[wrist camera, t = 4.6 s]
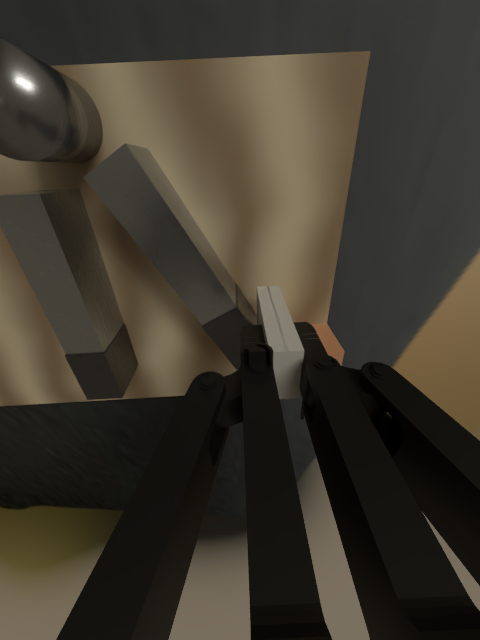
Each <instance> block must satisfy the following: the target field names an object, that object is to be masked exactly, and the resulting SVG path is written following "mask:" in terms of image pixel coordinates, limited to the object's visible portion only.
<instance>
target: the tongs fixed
mask: <svg viewBox="0 0 480 640" xmlns="http://www.w3.org/2000/svg"><path fill="white" fill-rule="evenodd" d="M102 138H103V127H102V121H101V117H100V114H99V112H98V109H97V107H96V105H95V103H94V101H93V100H92V98H91V97H90V95H89V94H88V93H87V92H86V90H85V89H84V88H83V87H82V86H81V85H80V84H78V83H77V82H76V81H74V80H73V79H71V78H70V77H68V76H66V75H65V74H63V73H61V72H59V71H58V70H56V69H54V68H52V67H51V66H49V65H47V64H45V63H44V62H42V61H40V60H39V59H37V58H35V57H33V56H32V55H30V54H28V53H26V52H25V51H23V50H21V49H19V48H18V47H16V46H14V45H12V44H11V43H9V42H7V41H5V40H3V39H2V38H0V154H1V155H3V156H5V157H8V158H11V159H14V160H20V161H38V162H62V163H83V162H86V161H89V160H90V159H92V158H93V157H94V156H95V155H96V154H97V153H98V151H99V149H100V147H101V144H102ZM0 227H1V229H2V231H3V233H4V235H5V236H6V238H7V240H8V242H9V244H10V246H11V248H12V250H13V252H14V254H15V256H16V258H17V260H18V262H19V264H20V266H21V268H22V270H23V272H24V274H25V275H26V277H27V279H28V281H29V283H30V285H31V287H32V289H33V291H34V293H35V295H36V297H37V299H38V301H39V303H40V305H41V307H42V309H43V311H44V313H45V314H46V316H47V318H48V320H49V322H50V324H51V326H52V328H53V330H54V332H55V334H56V336H57V338H58V340H59V342H60V344H61V346H62V348H63V350H64V352H65V353H66V355H65V358H66V360H67V362H68V364H69V366H70V367H71V369H72V371H73V373H74V375H75V377H76V379H77V381H78V383H79V385H80V387H81V389H82V391H83V393H84V394H85V396H86V398H87V400H96V399H114V398H123V396H124V394H125V392H126V390H127V388H128V386H129V383H130V381H131V379H132V377H133V375H134V373H135V371H136V368H137V366H138V361H137V358H136V355H135V352H134V349H133V346H132V343H131V340H130V337H129V334H128V331H127V328H126V325H125V324H124V321H123V318H122V315H121V312H120V309H119V306H118V303H117V300H116V297H115V294H114V291H113V288H112V285H111V282H110V279H109V276H108V273H107V270H106V267H105V264H104V261H103V258H102V255H101V252H100V249H99V246H98V243H97V240H96V237H95V234H94V231H93V228H92V225H91V222H90V219H89V216H88V212H87V209H86V206H85V203H84V200H83V197H82V194H81V191H80V189H60V190H40V191H29V192H20V193H11V194H2V195H0Z"/></svg>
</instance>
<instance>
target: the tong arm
mask: <svg viewBox="0 0 480 640" xmlns="http://www.w3.org/2000/svg"><path fill="white" fill-rule="evenodd" d="M84 178H85V180H86V181H87V182H88V183H89V185H90V186H91V187H92V188H93V190H94V191H95V192H96V193H97V195H98V196H99V197H100V198H101V200H102V201H103V202H104V203H105V205H106V206H107V207H108V208H109V210H110V211H111V212H112V213H113V215H114V216H115V217H116V218H117V220H118V221H119V222H120V223H121V225H122V226H123V227H124V228H125V229H126V231H127V232H128V233H129V234H130V236H131V237H132V238H133V239H134V241H135V242H136V243H137V244H138V246H139V247H140V248H141V249H142V251H143V252H144V253H145V254H146V256H147V257H148V258H149V259H150V261H151V262H152V263H153V264H154V266H155V267H156V268H157V269H158V271H159V272H160V273H161V274H162V276H163V277H164V278H165V279H166V281H167V282H168V283H169V284H170V286H171V287H172V288H173V289H174V291H175V292H176V293H177V294H178V296H179V297H180V298H181V299H182V300H183V302H184V303H185V304H186V305H187V307H188V308H189V309H190V310H191V312H192V313H193V314H194V315H195V317H196V318H197V319H198V320H199V322H200V323H201V324H202V328H203V329H204V330H205V331H206V333H207V334H208V335H209V336H210V338H211V339H212V340H213V341H214V343H215V344H216V345H217V346H218V348H219V349H220V350H221V351H222V352H223V354H224V355H225V356H226V357H227V359H228V360H229V361H230V362H231V364H232V365H233V366H234V367H235V369H236V370H237V369H239V367H240V365H241V358H240V352H241V348H240V330H241V329H242V327H243V326H248V325H257V314H256V313H255V311H254V310H253V308H252V307H251V305H250V303H249V302H248V300H247V299H246V297H245V296H244V294H243V293H242V291H241V289H240V288H239V286H238V285H237V283H235V282H234V280H233V278H232V277H231V275H230V274H229V272H228V271H227V269H226V268H225V266H224V265H223V263H222V261H221V260H220V258H219V257H218V255H217V254H216V252H215V251H214V249H213V248H212V246H211V245H210V243H209V241H208V240H207V238H206V237H205V235H204V234H203V232H202V231H201V229H200V228H199V226H198V224H197V223H196V221H195V220H194V218H193V217H192V215H191V214H190V212H189V211H188V209H187V208H186V206H185V204H184V203H183V201H182V200H181V198H180V197H179V195H178V194H177V192H176V191H175V189H174V187H173V186H172V184H171V183H170V181H169V180H168V178H167V177H166V175H165V174H164V172H163V171H162V169H161V167H160V166H159V164H158V163H157V161H156V160H155V158H154V157H153V155H152V154H151V152H150V150H149V149H147V148H143V147H139V146H135V145H131V144H127V143H124V144H123V145H122V146H121V147H120V148H118V149H117V150H116V151H115V152H114V153H112V154H111V155H110V156H109V157H107V158H106V159H105V160H104V161H103V162H101V163H100V164H99V165H98V166H96V167H95V168H94V169H93V170H92V171H90V172H89V173H88V174H87V175H86V176H84Z"/></svg>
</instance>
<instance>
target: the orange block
mask: <svg viewBox="0 0 480 640" xmlns="http://www.w3.org/2000/svg"><path fill="white" fill-rule="evenodd" d="M311 325H312V326H313V327H314V328H315V330H316V332H317V334H318V336H319V339H320V340H321V342H322V344H323V346H324V348H325V350H326V352H327V354H328V355H329V356H332V357H333V358H335V359H336V360H337V361H338V362H339V363H340V365H342V361H343V356H344V350H343V348H342V347H341V345H340V344H339V342H338V340H337V339H336V337H335V336H334V334H333V333H332V331H331V329H330V328H329V326H328V325H327V323H326V324H311Z"/></svg>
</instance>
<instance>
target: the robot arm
mask: <svg viewBox="0 0 480 640" xmlns="http://www.w3.org/2000/svg"><path fill="white" fill-rule="evenodd" d="M240 348H241V352H240V358H241V365H240V367H239V369H238V370H237V371H235V372H234V373H232V374H230V375H227V376H224V377H223V376H222V375H221V374H220V373H217V372H214V371H210V372H204V373H201V374H199V375H198V376H196V377H195V378H194V379H193V381H192V382H191V384H190V386H189V388H188V390H187V392H186V394H185V396H184V398H183V399H182V401H181V403H180V405H179V407H178V409H177V411H176V413H175V415H174V417H173V419H172V420H171V422H170V424H169V426H168V428H167V430H166V432H165V434H164V436H163V438H162V439H161V441H160V443H159V445H158V447H157V449H156V451H155V453H154V455H153V457H152V458H151V460H150V462H149V464H148V466H147V468H146V470H145V472H144V474H143V476H142V478H141V479H140V481H139V483H138V485H137V487H136V489H135V491H134V493H133V495H132V497H131V498H130V500H129V502H128V504H127V506H126V508H125V510H124V512H123V514H122V516H121V517H120V519H119V522H118V523H117V525H116V527H115V529H114V531H113V533H112V535H111V537H110V539H109V540H108V542H107V544H106V546H105V548H104V550H103V552H102V554H101V556H100V558H99V559H98V561H97V563H96V565H95V567H94V569H93V571H92V573H91V575H90V576H89V578H88V580H87V582H86V584H85V586H84V588H83V590H82V592H81V594H80V596H79V597H78V599H77V601H76V603H75V605H74V607H73V609H72V611H71V613H70V615H69V617H68V618H67V620H66V622H65V624H64V626H63V628H62V630H61V632H60V634H59V635H58V638H57V640H168V639H169V635H170V632H171V628H172V625H173V621H174V618H175V614H176V611H177V607H178V604H179V601H180V597H181V594H182V590H183V587H184V583H185V580H186V577H187V573H188V570H189V566H190V563H191V559H192V555H193V552H194V549H195V545H196V542H197V539H198V535H199V532H200V528H201V525H202V521H203V517H204V514H205V511H206V507H207V504H208V500H209V497H210V494H211V490H212V487H213V483H214V480H215V476H216V473H217V469H218V466H219V462H220V459H221V455H222V452H223V449H224V445H225V442H226V438H227V435H228V431H229V426H232V425H235V424H237V423H240V422H243V431H244V458H245V485H246V512H247V538H248V565H249V591H250V620H251V640H332V638H331V635H330V633H329V630H328V628H327V625H326V623H325V620H324V616H323V613H322V608H321V604H320V599H319V594H318V589H317V584H316V579H315V574H314V570H313V564H312V559H311V554H310V549H309V544H308V540H307V534H306V529H305V524H304V519H303V514H302V509H301V504H300V499H299V494H298V489H297V484H296V479H295V474H294V469H293V464H292V459H291V454H290V449H289V444H288V439H287V434H286V429H285V424H284V419H283V414H282V409H281V404H280V399H290V398H299V396H300V391H301V394H302V397H303V399H302V408H301V419H303V418H304V416H305V419H306V422H307V426H308V429H309V433H310V436H311V439H312V443H313V446H314V450H315V453H316V456H317V460H318V463H319V466H320V470H321V473H322V477H323V480H324V483H325V487H326V490H327V494H328V497H329V500H330V504H331V507H332V511H333V514H334V517H335V520H336V524H337V528H338V531H339V535H340V538H341V541H342V545H343V548H344V551H345V555H346V558H347V561H348V565H349V568H350V572H351V575H352V579H353V582H354V585H355V589H356V592H357V595H358V599H359V602H360V606H361V609H362V613H363V616H364V619H365V623H366V626H367V630H368V633H369V637H370V640H480V611H479V610H478V609H477V607H476V606H475V605H474V603H473V602H472V600H471V599H470V597H469V596H468V594H467V592H466V590H465V589H464V587H463V585H462V583H461V582H460V579H459V578H458V576H457V574H456V572H455V570H454V569H453V567H452V565H451V563H450V561H449V560H448V558H447V556H446V554H445V552H444V551H443V549H442V547H441V545H440V543H439V542H438V540H437V538H436V536H435V535H434V533H433V531H432V529H431V527H430V525H429V524H428V522H427V520H426V518H425V516H426V517H427V518H428V520H429V521H430V522H431V524H432V525H433V526H434V527H435V529H436V530H437V531H438V532H439V534H440V535H441V536H442V538H443V539H444V540H445V542H446V543H447V544H448V545H449V547H450V548H451V549H452V551H453V552H454V553H455V555H456V556H457V557H458V558H459V560H460V561H461V562H462V564H463V565H464V566H465V567H466V569H467V570H468V571H469V572H470V574H471V575H472V576H473V577H474V579H475V580H476V582H477V583H478V584H479V586H480V441H479V440H478V439H477V438H476V437H474V436H473V435H472V434H471V433H470V432H468V431H467V430H466V429H465V428H464V427H462V426H461V425H460V424H459V423H458V422H456V421H455V420H454V419H453V418H451V417H450V416H449V415H448V414H447V413H446V412H444V411H443V410H442V409H441V408H440V407H438V406H437V405H436V404H435V403H434V402H432V401H431V400H430V399H429V398H427V396H425V395H424V394H423V393H422V392H421V391H419V390H418V389H417V388H416V387H415V386H413V385H412V384H411V383H410V382H409V381H407V380H406V379H405V378H404V377H403V376H401V375H400V374H399V373H398V372H397V371H395V370H394V369H393V368H391V367H390V366H388V365H385V364H383V363H378V362H368V363H366V364H364V365H363V366H362V368H361V370H358V369H352V368H347V367H343V366H341V365H340V363H339V362H338V361H337V360H336V359H335V358H333V357H332V356H329V355H328V354H327V352H326V350H325V348H324V346H323V344H322V342H321V340H320V339H319V336H318V334H317V332H316V330H315V328H314V327H313V326H312V325H311V324H309V323H308V322H293V320H292V318H291V315H290V313H289V310H288V308H287V305H286V303H285V300H284V298H283V295H282V293H281V290H280V288H279V285H278V286H259V287H257V325H248V326H243V327H242V329H241V330H240ZM387 412H388V413H389V414H388V413H387ZM422 512H423V513H424V515H425V516H424V515H423V513H422Z"/></svg>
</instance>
